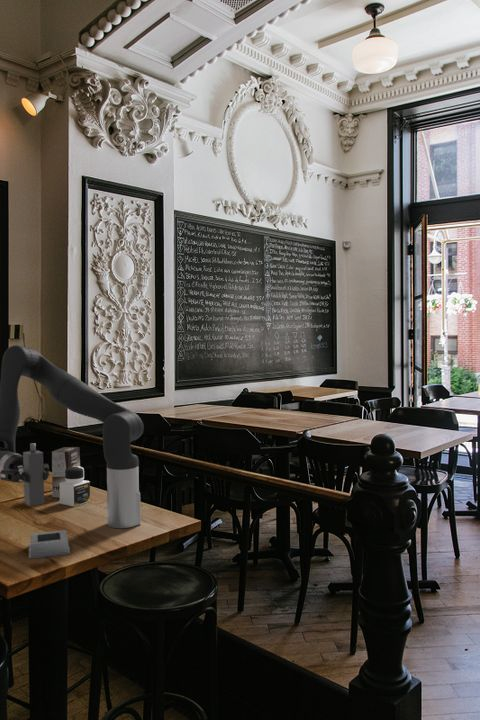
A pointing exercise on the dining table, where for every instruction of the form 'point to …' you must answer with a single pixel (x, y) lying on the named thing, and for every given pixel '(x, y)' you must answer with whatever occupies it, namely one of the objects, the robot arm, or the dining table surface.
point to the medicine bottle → (74, 487)
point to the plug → (33, 476)
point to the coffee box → (63, 466)
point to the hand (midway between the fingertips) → (37, 477)
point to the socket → (48, 544)
